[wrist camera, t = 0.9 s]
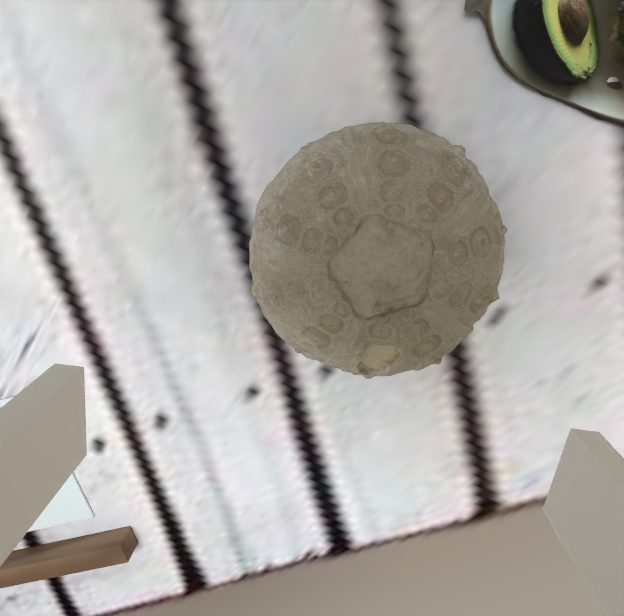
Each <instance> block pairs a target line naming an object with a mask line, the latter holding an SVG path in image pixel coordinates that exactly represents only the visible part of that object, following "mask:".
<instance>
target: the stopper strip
mask: <svg viewBox="0 0 624 616" xmlns="http://www.w3.org/2000/svg"><path fill="white" fill-rule="evenodd" d="M137 543H138V541H137V539H136V537H135V535H134V533H133V531H132V528H131V526H129V527H124V528H119V529H115V530H110V531H105V532H101V533H96V534H91V535H86V536H82V537H77V538H72V539H68V540H63V541H58V542H53V543H49V544H44V545H39V546H34V547H30V548H25V549H20V550H16V551H12V552H11V553H10V555H9V556H8V557H7V559H6V560H5V561H4V563H3V564H2V565H1V566H0V588H4V587H9V586H14V585H19V584H24V583H28V582H33V581H38V580H43V579H48V578H53V577H58V576H63V575H68V574H73V573H78V572H83V571H88V570H92V569H97V568H102V567H107V566H112V565H117V564H122V563H127V562H128V561H129V559H130V557H131V555H132V553H133V551H134V549H135V547H136V545H137Z"/></svg>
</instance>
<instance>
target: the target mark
mask: <svg viewBox="0 0 624 616" xmlns="http://www.w3.org/2000/svg"><path fill="white" fill-rule="evenodd" d="M13 397H15V396H13ZM13 397H9V398H5V399H1V400H0V408H1V407H2V406H4V405H5V404H6V403H7V402H9V401H10V400H11V399H12V398H13ZM93 517H94V514H93V512H92V510H91V508H90V506H89V504H88V502H87V500H86V498H85V496H84V494H83V492H82V490H81V488H80V486H79V483H78V481H77V479H76V477H75V475H74V473H72V474H71V475H70V477H69V478H68V479H67V481H66V482H65V483H64V485H63V486H62V487H61V488H60V490H59V491H58V492H57V494H56V495H55V496H54V498H53V499H52V500H51V501H50V503H49V504H48V505H47V507H46V508H45V509H44V511H43V512H42V513H41V514H40V516H39V517H38V518H37V520H36V521H35V522H34V524H33V525H32V526H31V527H30V529H29V530H28V531H27V532H29V531H33V530H38V529H42V528H47V527H52V526H56V525H61V524H66V523H70V522H75V521H80V520H84V519H89V518H93Z"/></svg>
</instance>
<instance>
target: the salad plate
mask: <svg viewBox="0 0 624 616" xmlns="http://www.w3.org/2000/svg"><path fill="white" fill-rule="evenodd" d="M622 1H624V0H466V4H465V10H466V11H471V12H474V11H478V12H480V13H481V15H482V16H483V18H484V20H485V23H486V25H487V29H488V32H489V35H490V39H491V41H492V44H493V47H494V49H495V52H496V54H497V56H498V58H499V59H500V61H501V63H502V64H503V66H504V67H505V68H506V69H507V70H508V71H509V72H510V73H511V74H512V75H513V76H515V77H516V78H517V79H519V80H520V81H522V82H523V83H524V84H526V85H528V86H531V87H533V88H534V89H536V90H537V91H538V92H540V93H541V94H542V95H544V96H548V97H551V98H554V99H556V100H559V101H562V102H564V103H566V104H568V105H570V106H572V107H574V108H577V109H579V110H581V111H583V112H585V113H587V114H589V115H591V116H593V117H595V118H598V119H601V120H606V121H609V122H612V123H616V124H619V125H624V9H623V10H621V11H618V6H619V4H620V3H621V2H622ZM609 77H617V78H618V79H619V81H618V82H610V83H607V82H606V81H607V80H608V78H609Z"/></svg>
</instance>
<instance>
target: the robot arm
mask: <svg viewBox="0 0 624 616" xmlns="http://www.w3.org/2000/svg"><path fill="white" fill-rule="evenodd" d="M86 455H87V450H86V418H85V386H84V367H78V366H70V365H62V364H54V365H53V366H52V367H50V368H49V369H48V370H47V371H45V372H44V373H43V374H42V375H40V376H39V377H38V378H37V379H36V380H34V381H33V382H32V383H31V384H29V385H28V386H27V387H26V388H25V389H23V390H22V391H21V392H20V393H18V394H17V395H16V396H15V397H13V398H12V399H11V400H10V401H9V402H7V403H6V404H5V405H4V406H2V407H1V408H0V566H1V565H2V564H3V563H4V561H5V560H6V559H7V557H8V556H9V555H10V553H11V552H12V551H13V550H14V548H15V547H16V546H17V544H18V543H19V542H20V540H21V539H22V538H23V537H24V535H25V534H26V533H27V531H28V530H29V529H30V527H31V526H32V525H33V524H34V522H35V521H36V520H37V518H38V517H39V516H40V514H41V513H42V512H43V511H44V509H45V508H46V507H47V505H48V504H49V503H50V501H51V500H52V499H53V498H54V496H55V495H56V494H57V492H58V491H59V490H60V488H61V487H62V486H63V485H64V483H65V482H66V481H67V479H68V478H69V477H70V475H71V474H72V473H73V472H74V470H75V469H76V468H77V466H78V465H79V464H80V462H81V461H82V460H83V459H84V457H85V456H86ZM542 511H543V513H544V514H545V516H546V518H547V520H548V521H549V523H550V525H551V526H552V528H553V530H554V532H555V533H556V535H557V537H558V539H559V540H560V542H561V544H562V545H563V547H564V549H565V550H566V552H567V554H568V556H569V557H570V559H571V561H572V562H573V564H574V566H575V568H576V569H577V571H578V573H579V574H580V576H581V578H582V579H583V581H584V583H585V585H586V586H587V588H588V590H589V591H590V593H591V595H592V597H593V598H594V600H595V602H596V604H597V605H598V607H599V608H600V610H601V612H602V614H603V615H604V616H624V458H623V457H622V456H621V455H620V454H619V453H618V452H617V451H616V450H615V449H614V448H613V447H612V446H611V444H610V443H609V442H608V441H607V440H606V439H605V438H604V437H603V436H602V435H601V434H600V433H599V432H594V431H586V430H578V429H571V430H570V433H569V436H568V438H567V441H566V444H565V447H564V450H563V453H562V456H561V459H560V461H559V464H558V467H557V470H556V473H555V476H554V479H553V482H552V484H551V487H550V490H549V493H548V496H547V499H546V502H545V504H544V507H543V510H542Z"/></svg>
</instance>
